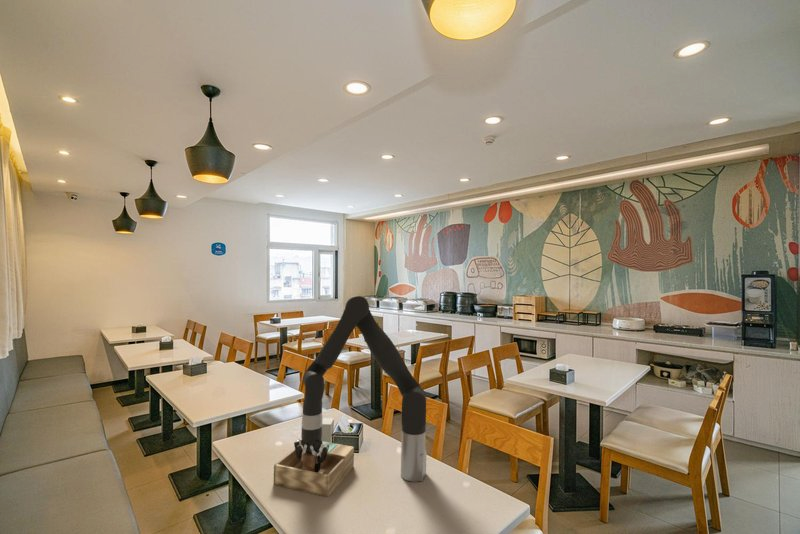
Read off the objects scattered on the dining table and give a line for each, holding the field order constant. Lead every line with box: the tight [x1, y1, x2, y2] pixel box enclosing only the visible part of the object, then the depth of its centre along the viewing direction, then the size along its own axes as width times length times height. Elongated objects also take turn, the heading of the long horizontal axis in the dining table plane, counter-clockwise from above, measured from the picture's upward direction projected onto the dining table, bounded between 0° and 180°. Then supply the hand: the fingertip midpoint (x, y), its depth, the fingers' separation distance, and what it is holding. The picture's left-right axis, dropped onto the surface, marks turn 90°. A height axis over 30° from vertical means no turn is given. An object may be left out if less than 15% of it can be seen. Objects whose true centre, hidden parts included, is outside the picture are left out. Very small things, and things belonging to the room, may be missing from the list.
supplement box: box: [321, 417, 335, 443], centre depth 156 cm, size 7×7×13 cm
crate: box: [273, 441, 355, 498], centre depth 137 cm, size 22×21×8 cm
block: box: [302, 452, 317, 472], centre depth 133 cm, size 4×4×8 cm
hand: (310, 470), depth 133 cm, fingers closed on block, 4 cm apart
